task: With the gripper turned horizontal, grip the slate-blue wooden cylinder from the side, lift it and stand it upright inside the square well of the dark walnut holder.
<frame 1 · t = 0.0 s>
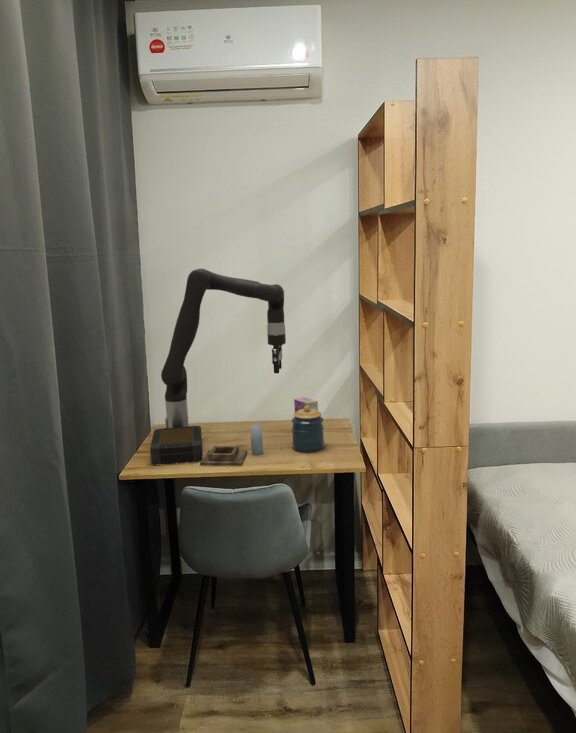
hand: (277, 370, 257), 29 cm above the table, tool pointing down, fingers open, 8 cm apart
holder: (224, 459, 238), on the table
cash box: (177, 454, 247), on the table
cylinder: (257, 453, 244), on the table
canister: (308, 447, 249), on the table
box: (306, 425, 279), on the table
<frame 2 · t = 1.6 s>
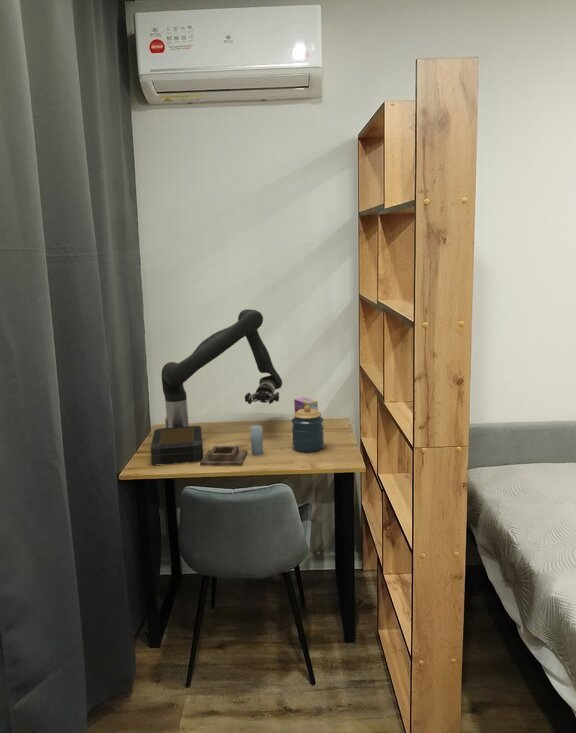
hand: (259, 401, 252), 18 cm above the table, tool horizontal, fingers open, 8 cm apart
nothing on the table moved.
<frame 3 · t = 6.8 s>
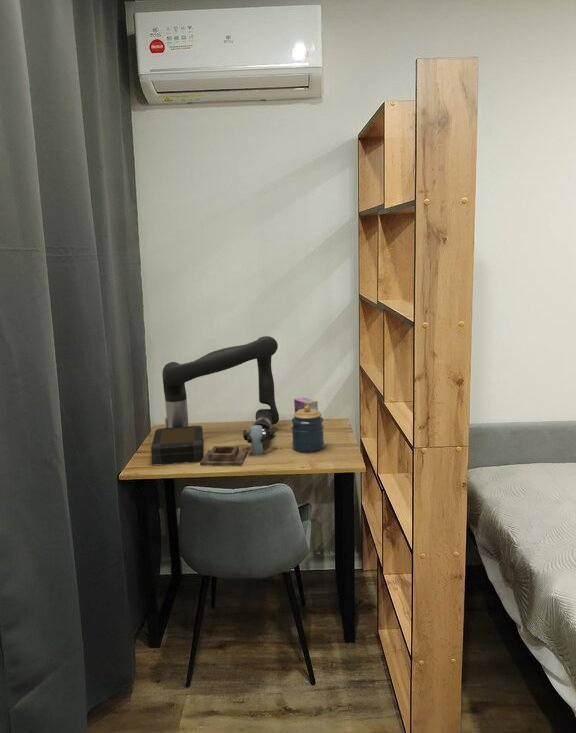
hand: (255, 441, 240), 6 cm above the table, tool horizontal, fingers closed on cylinder, 4 cm apart
cylinder: (257, 453, 244), on the table, touching gripper
everything else where it was.
when the fingers open (9 cm above the table, at t = 14.3 s): cylinder drops 2 cm, resting on holder.
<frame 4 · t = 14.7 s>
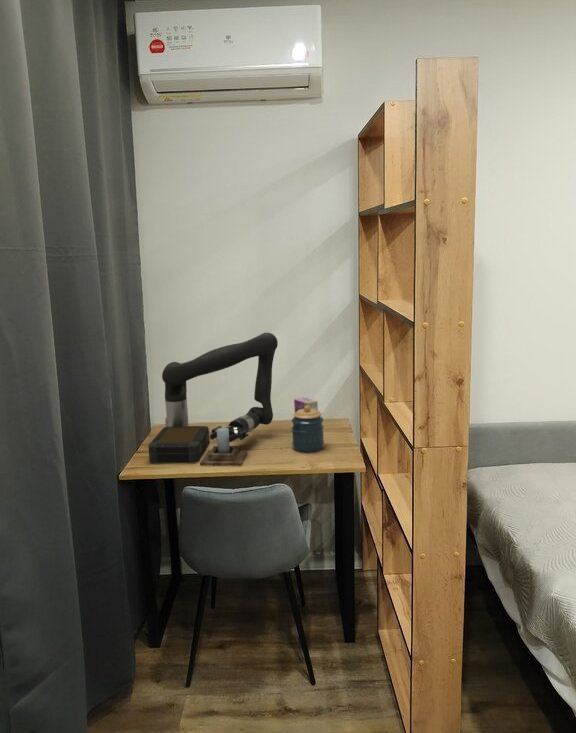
hand: (220, 438, 235), 9 cm above the table, tool horizontal, fingers open, 8 cm apart
cylinder: (224, 456, 238), point 1 cm above the table, touching holder
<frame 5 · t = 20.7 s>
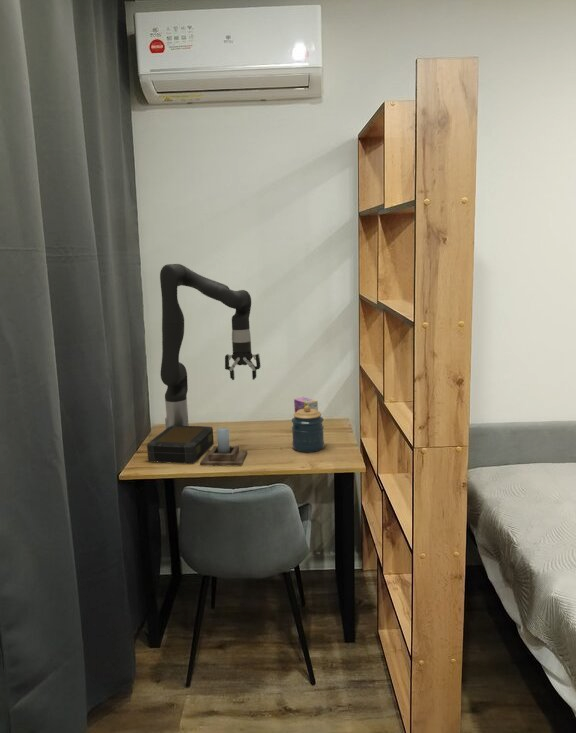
hand: (243, 379, 248), 28 cm above the table, tool pointing down, fingers open, 8 cm apart
at the end: cylinder 0.1 cm off-centre on the holder, point 1.2 cm above the holder's base; cylinder tilted 0°; the gripper is holding nothing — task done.
